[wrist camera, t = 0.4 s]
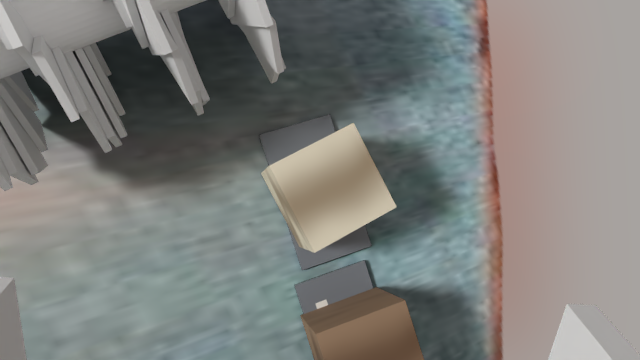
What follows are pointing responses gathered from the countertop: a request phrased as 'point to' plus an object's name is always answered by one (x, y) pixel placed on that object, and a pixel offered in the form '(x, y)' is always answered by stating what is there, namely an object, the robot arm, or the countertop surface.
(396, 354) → the walnut block
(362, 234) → the code tile
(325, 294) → the tile
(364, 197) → the birch block
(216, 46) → the countertop surface
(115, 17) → the spiral staircase
